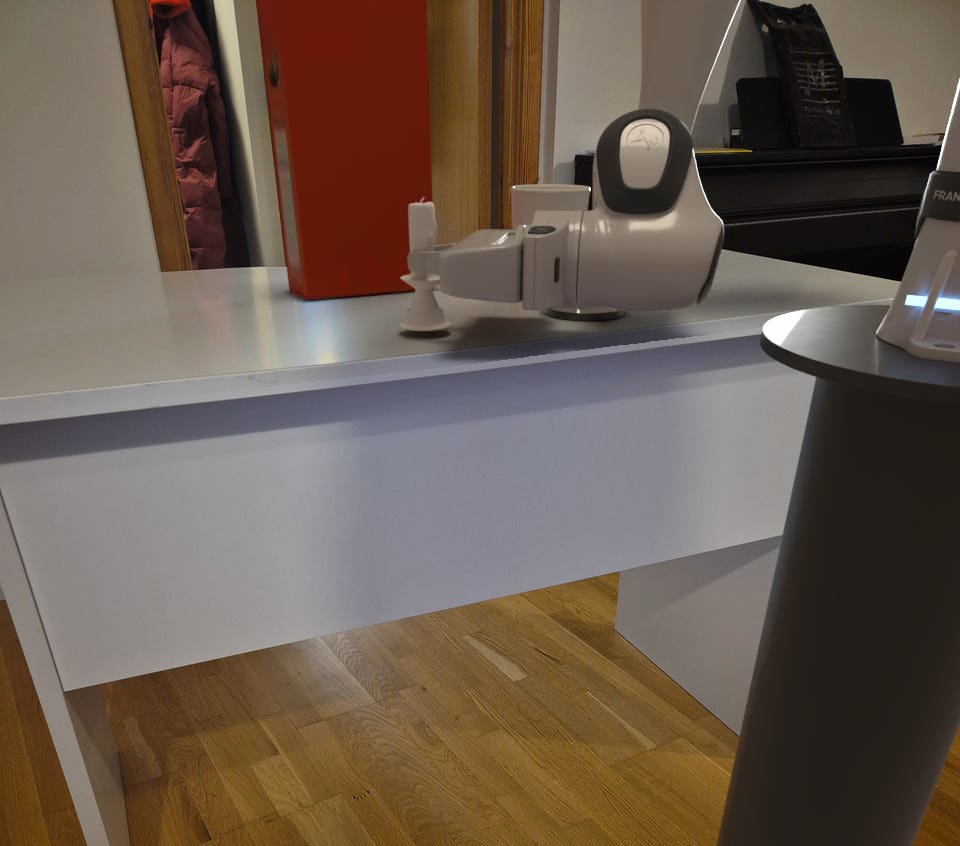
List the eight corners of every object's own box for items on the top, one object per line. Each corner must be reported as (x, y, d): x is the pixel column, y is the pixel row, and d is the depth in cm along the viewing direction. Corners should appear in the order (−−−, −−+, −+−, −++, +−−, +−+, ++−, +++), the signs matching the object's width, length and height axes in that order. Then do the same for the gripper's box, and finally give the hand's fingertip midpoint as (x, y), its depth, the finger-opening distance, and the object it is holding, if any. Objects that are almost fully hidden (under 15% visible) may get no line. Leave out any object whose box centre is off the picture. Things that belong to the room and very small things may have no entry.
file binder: (288, 291, 109) (253, -21, 92) (409, 280, 116) (397, -11, 99) (308, 301, 103) (275, -30, 86) (435, 289, 110) (427, -19, 93)
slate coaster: (637, 312, 97) (638, 305, 97) (592, 324, 92) (592, 316, 91) (576, 302, 102) (576, 295, 102) (529, 313, 97) (529, 305, 96)
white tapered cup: (513, 283, 114) (515, 183, 107) (586, 286, 112) (592, 184, 106) (503, 297, 105) (505, 189, 99) (581, 299, 104) (588, 190, 98)
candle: (441, 319, 90) (438, 194, 84) (457, 329, 86) (455, 197, 80) (393, 323, 89) (386, 195, 82) (407, 333, 84) (401, 199, 78)
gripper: (562, 215, 89) (435, 213, 91) (540, 237, 72) (385, 234, 74) (559, 278, 92) (437, 276, 94) (538, 314, 75) (389, 310, 77)
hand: (413, 258), depth 84 cm, fingers closed on candle, 2 cm apart
